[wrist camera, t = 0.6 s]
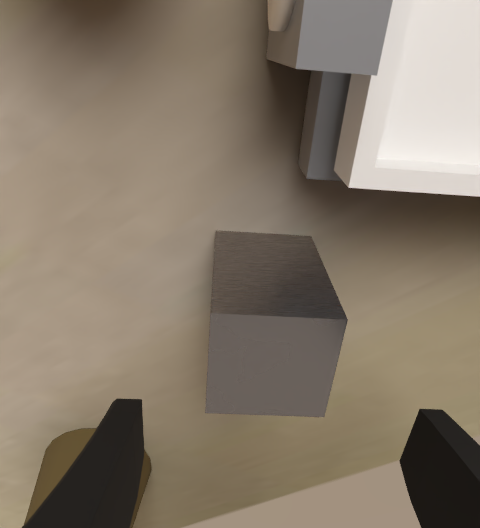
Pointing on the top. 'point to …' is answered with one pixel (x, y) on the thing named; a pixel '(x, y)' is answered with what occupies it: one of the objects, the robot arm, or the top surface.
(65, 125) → the top surface
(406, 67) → the kitchen scale
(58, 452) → the cork
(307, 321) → the steel block
